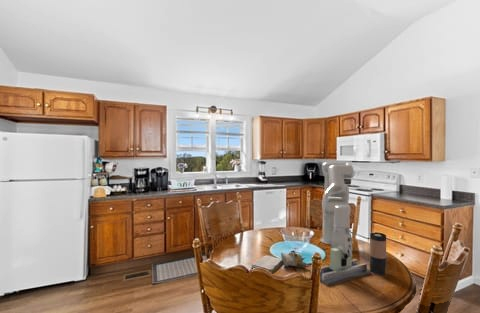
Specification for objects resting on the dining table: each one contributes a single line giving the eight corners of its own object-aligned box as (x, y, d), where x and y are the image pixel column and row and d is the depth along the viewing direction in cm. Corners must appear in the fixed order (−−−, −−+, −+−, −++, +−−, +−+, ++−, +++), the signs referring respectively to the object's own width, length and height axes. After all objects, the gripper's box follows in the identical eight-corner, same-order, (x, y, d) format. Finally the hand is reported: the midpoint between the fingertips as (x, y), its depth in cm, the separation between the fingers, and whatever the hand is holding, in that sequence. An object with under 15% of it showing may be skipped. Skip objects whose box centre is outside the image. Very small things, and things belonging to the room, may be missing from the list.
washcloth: (250, 269, 131) (250, 264, 131) (265, 258, 146) (265, 252, 146) (270, 275, 124) (270, 269, 124) (283, 262, 140) (283, 257, 140)
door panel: (346, 264, 130) (347, 245, 130) (351, 266, 127) (351, 247, 127) (329, 268, 125) (330, 248, 125) (334, 270, 122) (334, 251, 122)
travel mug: (385, 276, 124) (386, 237, 124) (368, 272, 128) (369, 235, 128) (386, 270, 130) (386, 233, 130) (369, 267, 134) (370, 231, 134)
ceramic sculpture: (279, 246, 140) (305, 247, 141) (278, 261, 140) (303, 262, 141) (283, 254, 130) (311, 255, 130) (282, 270, 130) (309, 271, 130)
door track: (351, 264, 138) (352, 257, 138) (371, 273, 127) (371, 266, 127) (310, 274, 125) (310, 266, 125) (327, 286, 114) (327, 277, 114)
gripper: (360, 233, 120) (359, 270, 120) (334, 224, 135) (334, 257, 135) (349, 235, 117) (348, 272, 117) (324, 225, 132) (324, 259, 132)
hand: (341, 264), depth 126 cm, fingers closed on door panel, 3 cm apart
